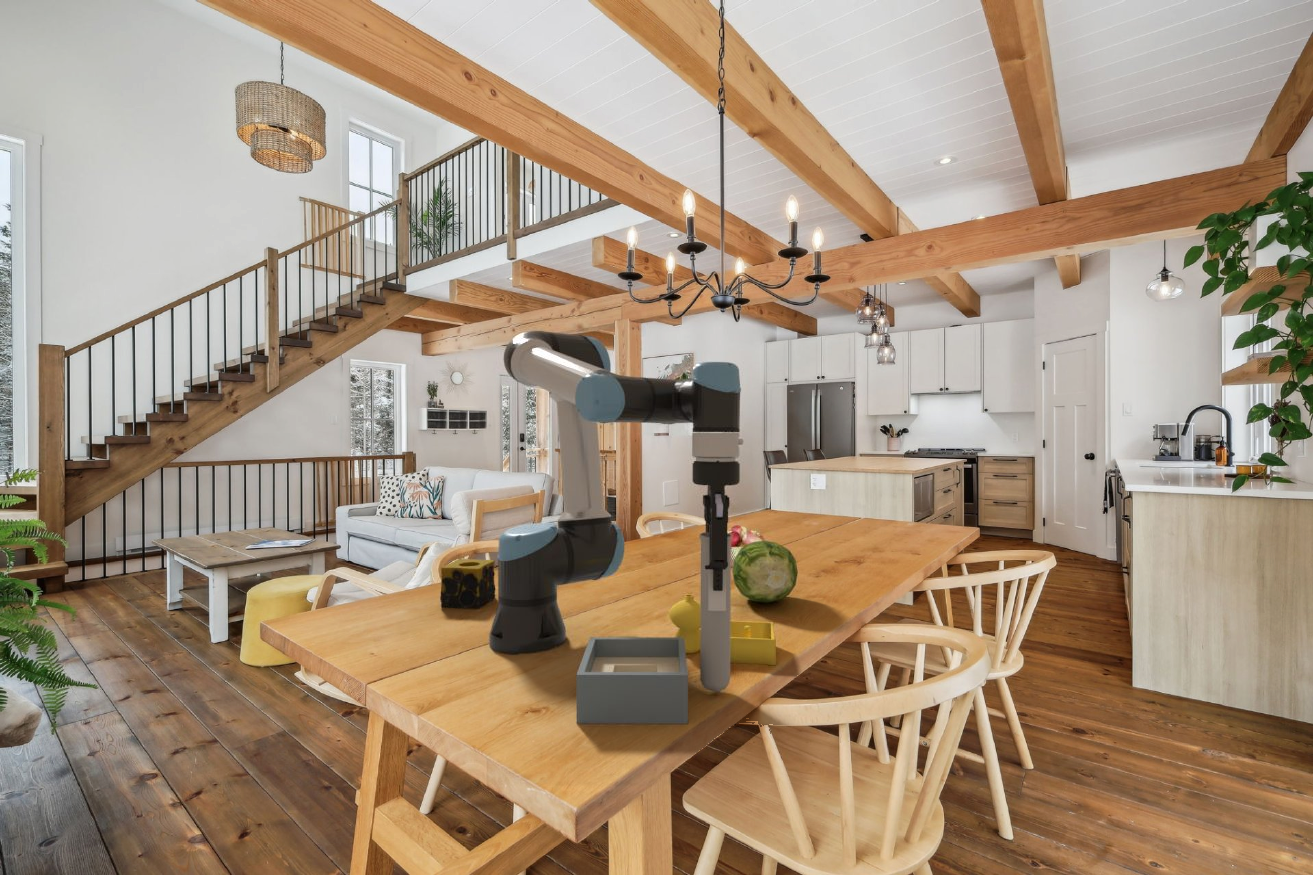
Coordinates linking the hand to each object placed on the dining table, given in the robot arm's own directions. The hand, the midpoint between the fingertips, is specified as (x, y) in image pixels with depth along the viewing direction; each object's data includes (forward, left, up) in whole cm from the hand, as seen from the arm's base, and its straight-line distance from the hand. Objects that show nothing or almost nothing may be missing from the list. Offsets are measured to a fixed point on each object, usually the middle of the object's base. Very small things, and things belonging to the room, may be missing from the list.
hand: (715, 604), depth 96 cm
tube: (0, 0, -14) cm, 14 cm away
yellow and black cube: (-57, +52, -15) cm, 78 cm away
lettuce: (+17, +50, -14) cm, 55 cm away
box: (-13, -2, -14) cm, 19 cm away
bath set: (+3, +19, -15) cm, 24 cm away
